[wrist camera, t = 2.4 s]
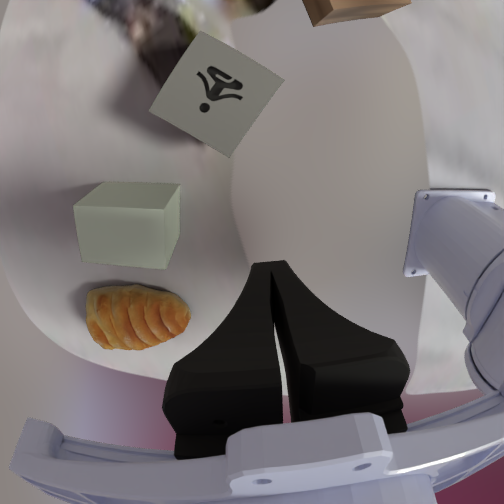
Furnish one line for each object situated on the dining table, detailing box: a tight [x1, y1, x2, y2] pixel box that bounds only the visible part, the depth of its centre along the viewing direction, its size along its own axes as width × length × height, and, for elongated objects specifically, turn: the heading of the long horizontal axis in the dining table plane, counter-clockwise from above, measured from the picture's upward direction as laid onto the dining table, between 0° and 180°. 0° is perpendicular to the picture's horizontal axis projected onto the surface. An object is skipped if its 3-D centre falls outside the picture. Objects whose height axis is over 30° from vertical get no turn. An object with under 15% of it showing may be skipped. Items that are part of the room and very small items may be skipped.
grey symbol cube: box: [149, 31, 284, 158], centre depth 16 cm, size 5×5×5 cm
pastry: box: [86, 284, 191, 350], centre depth 25 cm, size 9×7×4 cm
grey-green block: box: [73, 182, 180, 270], centre depth 20 cm, size 6×4×5 cm, turn 84°
